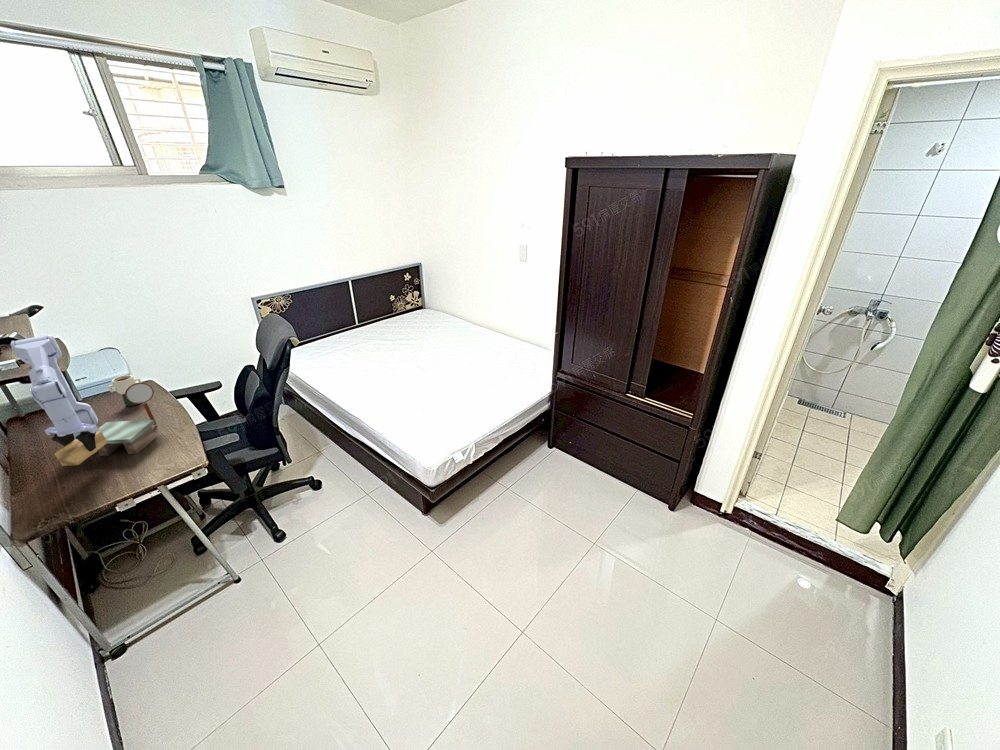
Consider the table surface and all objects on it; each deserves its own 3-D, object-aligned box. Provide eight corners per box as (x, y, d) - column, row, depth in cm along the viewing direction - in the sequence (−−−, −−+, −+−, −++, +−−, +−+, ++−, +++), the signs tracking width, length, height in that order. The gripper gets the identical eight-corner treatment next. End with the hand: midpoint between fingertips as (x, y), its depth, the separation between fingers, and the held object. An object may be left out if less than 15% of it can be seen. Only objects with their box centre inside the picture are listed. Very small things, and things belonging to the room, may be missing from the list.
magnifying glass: (143, 431, 160) (121, 388, 151) (142, 430, 161) (120, 387, 151) (168, 421, 166) (149, 380, 157) (167, 420, 167) (147, 378, 158)
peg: (62, 465, 129) (54, 453, 127) (92, 443, 140) (86, 431, 138) (78, 464, 130) (70, 452, 127) (107, 442, 140) (101, 431, 138)
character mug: (148, 396, 185) (137, 371, 179) (150, 402, 180) (138, 376, 174) (118, 405, 178) (105, 379, 172) (119, 411, 174) (105, 385, 168)
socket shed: (89, 459, 144) (79, 441, 141) (116, 438, 155) (106, 422, 152) (139, 456, 146) (129, 439, 142) (161, 436, 157) (153, 419, 153)
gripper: (27, 424, 124) (50, 458, 130) (76, 422, 125) (97, 456, 131) (48, 412, 130) (69, 445, 137) (95, 410, 131) (113, 443, 137)
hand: (84, 450), depth 134 cm, fingers closed on peg, 5 cm apart
